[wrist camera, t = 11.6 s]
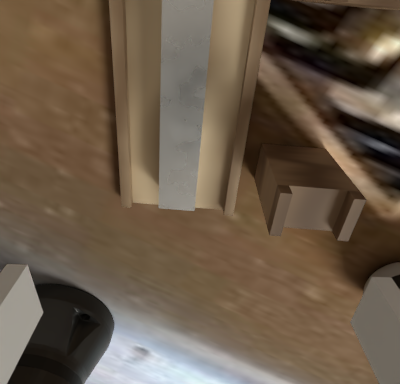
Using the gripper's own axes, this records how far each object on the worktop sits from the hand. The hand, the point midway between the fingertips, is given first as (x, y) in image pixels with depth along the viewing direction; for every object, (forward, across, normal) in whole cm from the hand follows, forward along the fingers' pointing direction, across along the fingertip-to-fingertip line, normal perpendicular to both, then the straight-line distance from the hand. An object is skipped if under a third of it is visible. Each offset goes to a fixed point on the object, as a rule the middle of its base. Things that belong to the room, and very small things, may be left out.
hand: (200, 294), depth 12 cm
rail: (+20, -2, +5) cm, 20 cm away
